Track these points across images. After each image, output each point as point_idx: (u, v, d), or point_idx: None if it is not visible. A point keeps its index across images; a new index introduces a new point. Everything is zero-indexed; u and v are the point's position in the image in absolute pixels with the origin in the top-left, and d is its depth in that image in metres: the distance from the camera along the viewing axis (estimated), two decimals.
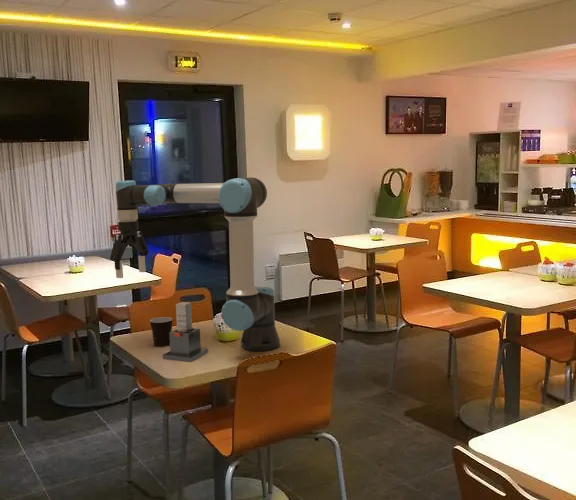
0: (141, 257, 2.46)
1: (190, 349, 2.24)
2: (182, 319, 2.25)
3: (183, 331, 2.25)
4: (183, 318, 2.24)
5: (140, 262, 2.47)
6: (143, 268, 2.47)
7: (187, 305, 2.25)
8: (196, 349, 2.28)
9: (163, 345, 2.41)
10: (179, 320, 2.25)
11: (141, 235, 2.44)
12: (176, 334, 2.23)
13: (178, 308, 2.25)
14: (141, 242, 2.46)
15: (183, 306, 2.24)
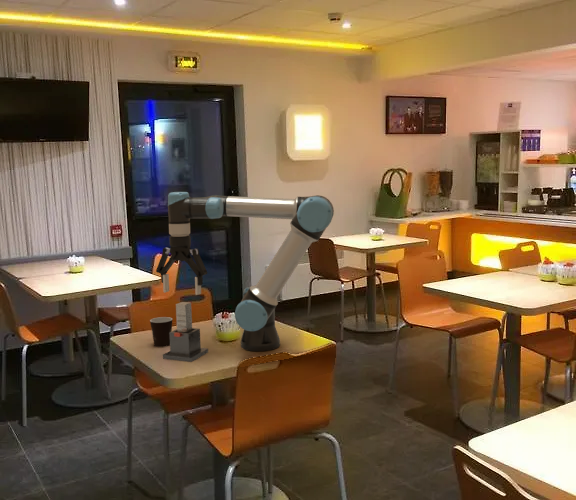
0: None
1: (190, 349, 2.24)
2: (182, 319, 2.25)
3: (183, 331, 2.25)
4: (183, 318, 2.24)
5: None
6: None
7: (187, 305, 2.25)
8: (196, 349, 2.28)
9: (163, 345, 2.41)
10: (179, 320, 2.25)
11: (193, 253, 2.20)
12: (176, 334, 2.23)
13: (178, 308, 2.25)
14: None
15: (183, 306, 2.24)
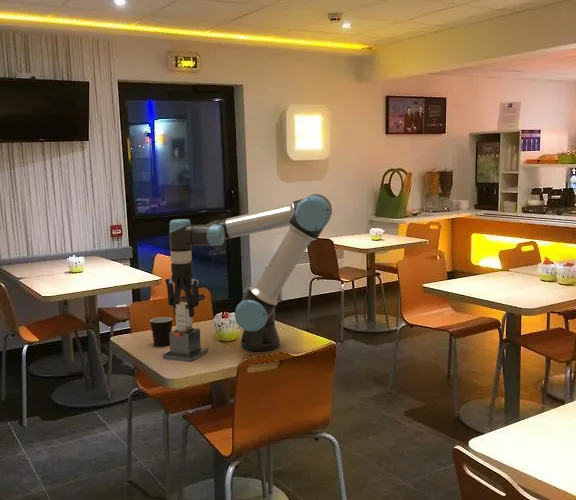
0: None
1: (190, 349, 2.24)
2: (182, 319, 2.25)
3: (183, 331, 2.25)
4: (183, 318, 2.24)
5: None
6: None
7: (187, 305, 2.25)
8: (196, 349, 2.28)
9: (163, 345, 2.41)
10: (179, 320, 2.25)
11: (193, 284, 2.22)
12: (176, 334, 2.23)
13: (178, 308, 2.25)
14: None
15: (183, 306, 2.24)
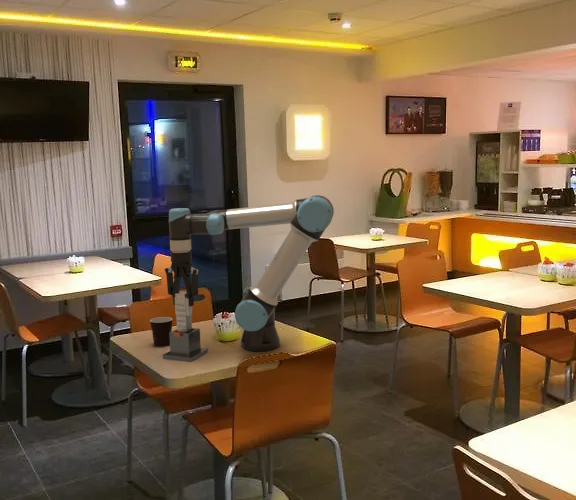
0: None
1: (190, 349, 2.24)
2: (181, 308, 2.24)
3: (182, 320, 2.24)
4: (182, 307, 2.24)
5: None
6: None
7: (186, 294, 2.24)
8: (196, 349, 2.28)
9: (163, 345, 2.41)
10: (178, 309, 2.24)
11: (193, 273, 2.21)
12: (176, 334, 2.23)
13: (177, 297, 2.24)
14: None
15: (182, 295, 2.23)
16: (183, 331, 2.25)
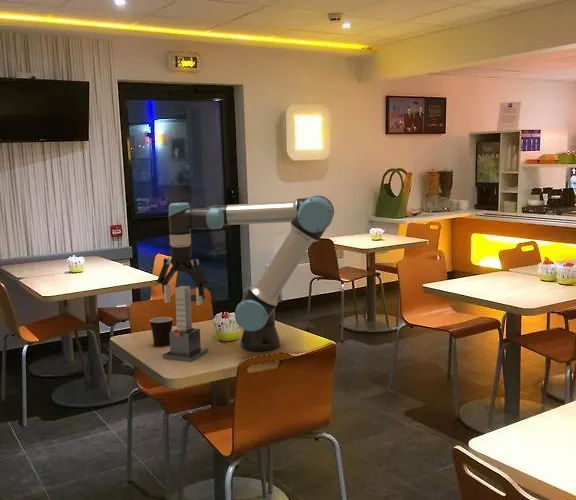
0: None
1: (190, 349, 2.24)
2: (181, 303, 2.24)
3: (182, 315, 2.24)
4: (182, 302, 2.24)
5: None
6: None
7: (186, 289, 2.24)
8: (196, 349, 2.28)
9: (163, 345, 2.41)
10: (178, 304, 2.24)
11: (194, 264, 2.20)
12: (176, 334, 2.23)
13: (177, 292, 2.24)
14: None
15: (182, 290, 2.23)
16: (183, 326, 2.25)
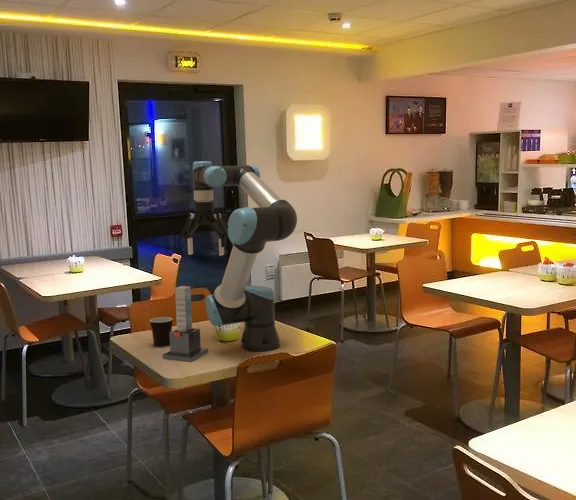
0: None
1: (190, 349, 2.24)
2: (181, 303, 2.24)
3: (182, 315, 2.24)
4: (182, 302, 2.24)
5: None
6: None
7: (186, 289, 2.24)
8: (196, 349, 2.28)
9: (163, 345, 2.41)
10: (178, 304, 2.24)
11: (217, 217, 2.40)
12: (176, 334, 2.23)
13: (177, 292, 2.24)
14: None
15: (182, 290, 2.23)
16: (183, 326, 2.25)
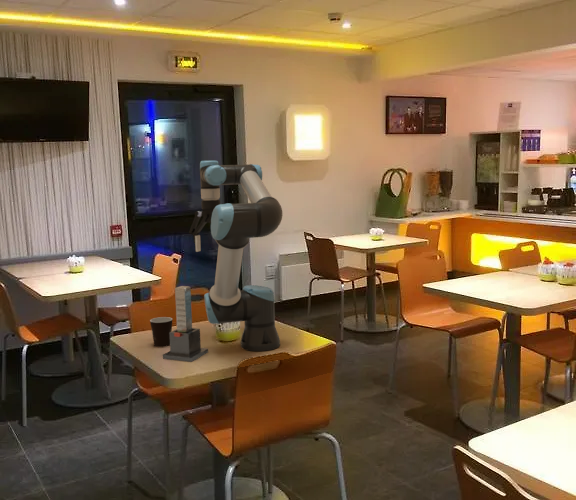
0: None
1: (190, 349, 2.24)
2: (181, 303, 2.24)
3: (182, 315, 2.24)
4: (182, 302, 2.24)
5: None
6: None
7: (186, 289, 2.24)
8: (196, 349, 2.28)
9: (163, 345, 2.41)
10: (178, 304, 2.24)
11: None
12: (176, 334, 2.23)
13: (177, 292, 2.24)
14: None
15: (182, 290, 2.23)
16: (183, 326, 2.25)
